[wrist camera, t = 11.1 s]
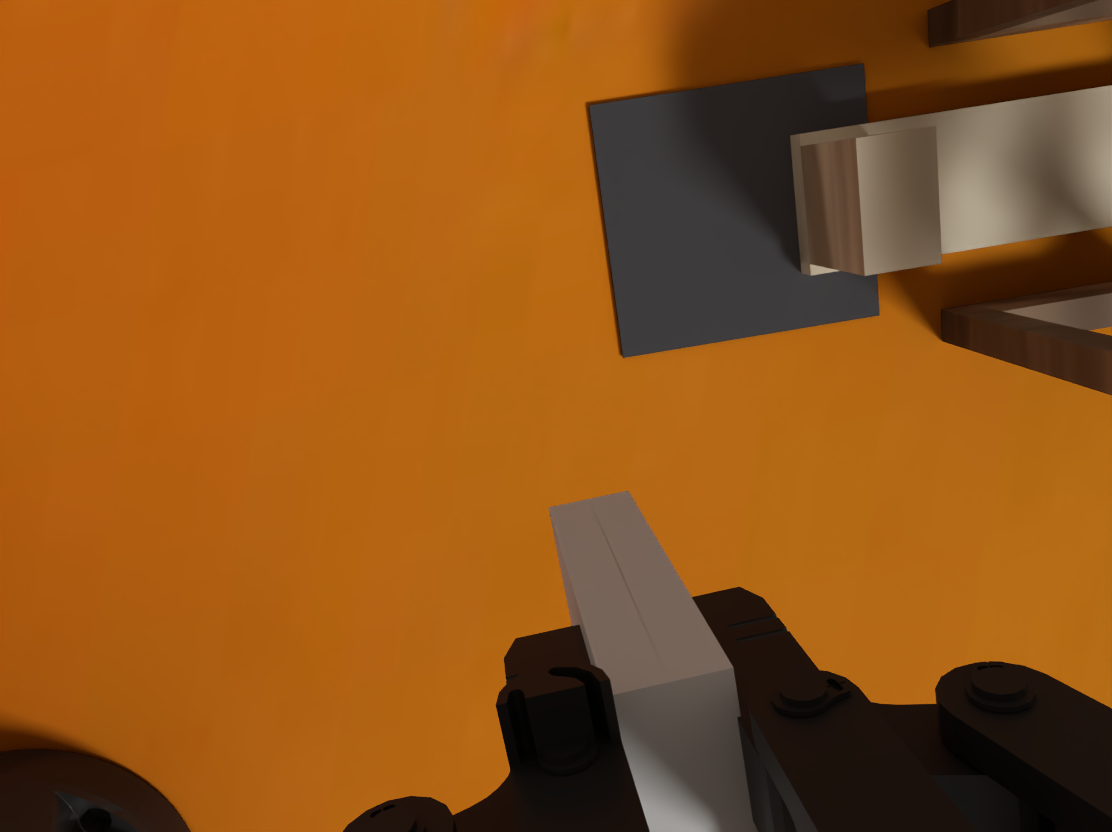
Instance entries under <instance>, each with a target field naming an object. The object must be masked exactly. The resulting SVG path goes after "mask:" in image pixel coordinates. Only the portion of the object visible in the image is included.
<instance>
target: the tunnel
mask: <svg viewBox="0 0 1112 832" xmlns="http://www.w3.org/2000/svg"><path fill="white" fill-rule="evenodd" d="M1105 20H1112V0H952V1H949V2H947V3H944V4H942V5H940V6H937V7H935V8H932V9H930V10H928V30H929V47H935V46H942V45H948V44H955V43H961V42H968V41H974V40H981V39H987V38H994V37H1001V36H1007V35H1014V34H1020V33H1027V32H1033V31H1040V30H1046V29H1053V28H1059V27H1066V26H1073V25H1079V24H1086V23H1092V22H1099V21H1105ZM941 319H942V341H943V342H946V343H949V344H953V345H956V346H959V347H962V348H965V349H968V350H971V351H975V352H978V353H981V354H984V355H987V356H990V357H993V358H996V359H1000V360H1003V361H1006V362H1009V363H1012V364H1015V365H1018V366H1022V367H1025V368H1028V369H1031V370H1034V371H1037V372H1040V373H1043V374H1047V375H1050V376H1053V377H1056V378H1059V379H1062V380H1065V381H1069V382H1072V383H1075V384H1078V385H1081V386H1084V387H1087V388H1090V389H1094V390H1097V391H1100V392H1103V393H1106V394H1109V395H1112V336H1110V335H1105V334H1101V333H1096V332H1092V331H1088V330H1094V329H1100V328H1106V327H1111V326H1112V281H1111V282H1105V283H1098V284H1092V285H1086V286H1080V287H1074V288H1068V289H1062V290H1056V291H1050V292H1044V293H1038V294H1032V295H1026V296H1020V297H1014V298H1008V299H1002V300H996V301H990V302H984V303H978V304H972V305H966V306H960V307H954V308H948V309H942V310H941Z"/></svg>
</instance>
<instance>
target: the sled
mask: <svg viewBox="0 0 1112 832" xmlns="http://www.w3.org/2000/svg"><path fill="white" fill-rule="evenodd" d="M790 142H791V154H792V166H793V178H794V190H795V202H796V214H797V226H798V238H799V250H800V262H801V273H802V274H806V275H810V276H811V275H818V274H824V273H830V272H836V271H844V272H849V273H853V274H858V275H863V276H868V275H874V274H880V273H886V272H892V271H898V270H904V269H910V268H917V267H923V266H929V265H935V264H941V263H942V254H946V253H952V252H958V251H964V250H970V249H977V248H983V247H989V246H995V245H1001V244H1007V243H1013V242H1019V241H1026V240H1032V239H1038V238H1044V237H1050V236H1056V235H1062V234H1068V233H1074V232H1081V231H1087V230H1093V229H1099V228H1105V227H1111V226H1112V85H1110V86H1103V87H1097V88H1091V89H1084V90H1078V91H1071V92H1065V93H1059V94H1052V95H1046V96H1039V97H1033V98H1027V99H1020V100H1014V101H1007V102H1001V103H995V104H988V105H982V106H975V107H969V108H963V109H956V110H950V111H943V112H937V113H931V114H924V115H918V116H911V117H905V118H899V119H892V120H886V121H879V122H873V123H867V124H860V125H854V126H847V127H841V128H835V129H828V130H822V131H815V132H809V133H803V134H797V135H791V136H790Z"/></svg>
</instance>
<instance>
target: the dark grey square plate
mask: <svg viewBox="0 0 1112 832" xmlns="http://www.w3.org/2000/svg"><path fill="white" fill-rule="evenodd" d="M589 110H590V118H591V125H592V133H593V140H594V147H595V155H596V162H597V169H598V177H599V184H600V192H601V199H602V206H603V214H604V221H605V229H606V236H607V243H608V251H609V258H610V266H611V273H612V280H613V288H614V295H615V303H616V310H617V317H618V325H619V332H620V340H621V347H622V354H623V358H625V357H631V356H637V355H643V354H649V353H655V352H661V351H667V350H673V349H679V348H685V347H691V346H697V345H703V344H709V343H715V342H721V341H727V340H733V339H739V338H745V337H751V336H757V335H763V334H769V333H775V332H781V331H787V330H793V329H799V328H805V327H811V326H817V325H823V324H829V323H836V322H842V321H848V320H854V319H860V318H866V317H872V316H878V315H879V300H878V284H877V274H874V275H868V276H863V275H858V274H853V273H849V272H844V271H836V272H830V273H824V274H818V275H811V276H810V275H806V274H802V273H801V262H800V250H799V238H798V226H797V214H796V202H795V190H794V178H793V166H792V154H791V142H790V136H791V135H797V134H803V133H809V132H815V131H822V130H828V129H835V128H841V127H847V126H854V125H860V124H867V107H866V91H865V75H864V63H863V64H856V65H850V66H843V67H837V68H830V69H823V70H817V71H810V72H804V73H797V74H791V75H784V76H778V77H771V78H765V79H758V80H752V81H745V82H739V83H732V84H726V85H719V86H713V87H706V88H699V89H693V90H686V91H680V92H673V93H667V94H660V95H654V96H647V97H641V98H634V99H628V100H621V101H615V102H608V103H602V104H595V105H589Z"/></svg>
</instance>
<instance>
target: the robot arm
mask: <svg viewBox="0 0 1112 832" xmlns="http://www.w3.org/2000/svg"><path fill="white" fill-rule="evenodd" d="M549 512H550V517H551V522H552V527H553V532H554V537H555V542H556V547H557V552H558V557H559V562H560V567H561V572H562V577H563V583H564V588H565V593H566V598H567V603H568V608H569V613H570V618H571V623H572V626H570V627H566V628H561V629H557V630H552V631H548V632H543V633H539V634H534V635H530V636H525V637H520V638H516V639H515V640H514V642H513V644H512V646H511V647H510V649H509V651H508V652H507V654H506V656H505V657H504V663H505V673H506V680H507V681H506V683H507V684H506V686H505V687H504V688H503V689H502V690H501V691H500V692H499V695H498V699H497V703H496V708H497V712H498V717H499V721H500V726H501V730H502V734H503V739H504V743H505V748H506V752H507V757H508V761H509V765H510V773H509V775H508V777H507V778H506V780H505V781H504V782H503V783H502V784H501V786H500V787H499V788H498V789H497V790H495V791H494V792H493V793H492V794H491V795H489V796H488V797H487V798H485V799H484V800H482V801H480V802H478V803H477V804H475V805H473V806H471V807H470V808H467V809H465V810H463V811H461V812H459V813H457V814H455V815H452V814H451V812H450V810H449V809H448V807H447V806H446V805H445V804H443V803H441V802H439V801H437V800H435V799H433V798H431V797H416V796H409V797H404V798H399V799H394V800H389V801H387V802H384V803H382V804H380V805H377V806H375V807H373V808H371V809H369V810H367V811H365V812H364V813H363V814H361V815H360V816H359V817H358V818H356V819H355V820H354V821H352V822H351V823H350V824H348V825H347V827H346V828H345V829H344V831H343V832H1112V709H1111V708H1110V707H1108V706H1106V705H1104V704H1102V703H1100V702H1098V701H1096V700H1094V699H1092V698H1090V697H1089V696H1087V695H1085V694H1083V693H1081V692H1079V691H1077V690H1075V689H1073V688H1071V687H1070V686H1068V685H1066V684H1064V683H1062V682H1060V681H1058V680H1056V679H1054V678H1052V677H1050V676H1049V675H1047V674H1044V673H1042V672H1039V671H1036V670H1034V669H1031V668H1029V667H1026V666H1022V665H1016V664H1009V663H1004V662H992V661H989V662H978V663H973V664H969V665H965V666H961V667H957V668H954V669H953V670H951V671H950V672H948V673H947V674H945V675H943V676H942V677H941V678H940V680H939V682H938V684H937V686H936V688H935V692H936V703H937V704H914V705H892V704H878V703H873V702H870V701H869V699H868V698H867V697H866V696H865V695H864V693H863V692H862V691H861V690H860V689H859V687H857V686H856V685H855V684H853V683H852V682H851V681H850V680H848V679H847V678H846V677H843V676H840V675H837V674H834V673H831V672H828V671H820V670H819V669H818V668H817V667H816V665H815V664H814V663H813V662H812V660H811V659H810V658H809V656H808V655H807V654H806V653H805V651H804V650H803V649H802V647H801V646H800V645H799V644H798V642H797V641H796V640H795V638H794V637H793V636H792V635H791V633H790V632H789V631H788V632H787V629H786V627H785V625H784V624H783V623H782V622H781V620H780V619H779V618H777V617H776V614H775V613H774V611H773V610H772V609H771V607H770V606H769V605H768V604H767V602H766V601H765V600H764V598H762V597H760V596H758V595H756V594H754V593H751V592H749V591H747V590H745V589H743V588H741V587H736V588H731V589H727V590H722V591H718V592H713V593H709V594H704V595H700V596H695V597H691V595H690V594H689V592H688V590H687V589H686V587H685V585H684V584H683V582H682V580H681V579H680V577H679V575H678V574H677V572H676V570H675V569H674V567H673V565H672V563H671V562H670V560H669V558H668V557H667V555H666V553H665V552H664V550H663V548H662V547H661V545H660V543H659V542H658V540H657V538H656V537H655V535H654V533H653V532H652V530H651V528H650V526H649V525H648V523H647V521H646V520H645V518H644V516H643V515H642V513H641V511H640V510H639V508H638V506H637V505H636V503H635V501H634V500H633V498H632V496H631V495H630V493H629V491H625V492H620V493H615V494H610V495H606V496H601V497H596V498H592V499H587V500H582V501H577V502H573V503H568V504H563V505H559V506H554V507H549ZM0 832H190V830H189V828H188V826H187V825H186V823H185V822H184V820H183V819H182V818H181V816H180V815H179V814H178V812H177V811H176V810H175V809H174V808H173V807H172V805H171V804H170V803H169V802H168V801H167V800H166V799H165V798H164V797H163V796H162V795H160V794H159V793H158V792H157V791H156V790H154V789H153V788H152V787H151V786H149V785H148V784H146V783H145V782H144V781H142V780H141V779H139V778H137V777H136V776H134V775H132V774H131V773H129V772H127V771H125V770H123V769H121V768H119V767H117V766H114V765H112V764H110V763H107V762H104V761H102V760H99V759H95V758H92V757H89V756H85V755H81V754H76V753H71V752H65V751H56V750H41V749H36V750H16V751H9V752H2V753H0Z"/></svg>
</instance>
